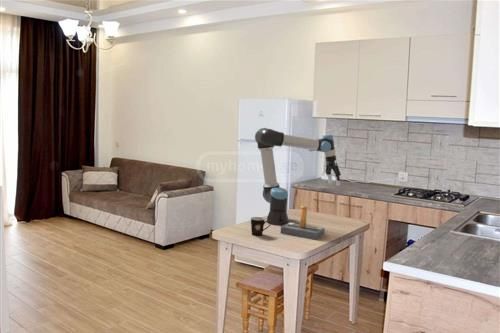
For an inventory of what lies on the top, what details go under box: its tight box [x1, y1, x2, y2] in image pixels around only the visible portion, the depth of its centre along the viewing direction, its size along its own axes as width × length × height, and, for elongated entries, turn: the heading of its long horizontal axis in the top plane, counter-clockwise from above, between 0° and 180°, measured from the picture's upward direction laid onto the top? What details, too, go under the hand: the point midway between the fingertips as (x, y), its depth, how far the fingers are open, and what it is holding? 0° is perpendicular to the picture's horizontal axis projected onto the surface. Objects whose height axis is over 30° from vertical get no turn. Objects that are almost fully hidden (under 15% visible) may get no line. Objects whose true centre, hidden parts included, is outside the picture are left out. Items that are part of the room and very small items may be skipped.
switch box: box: [280, 222, 326, 241], centre depth 278 cm, size 24×14×4 cm, turn 62°
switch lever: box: [299, 205, 309, 228], centre depth 277 cm, size 4×4×16 cm
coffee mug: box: [250, 216, 271, 237], centre depth 271 cm, size 12×9×10 cm
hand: (334, 184), depth 325 cm, fingers open, 13 cm apart
